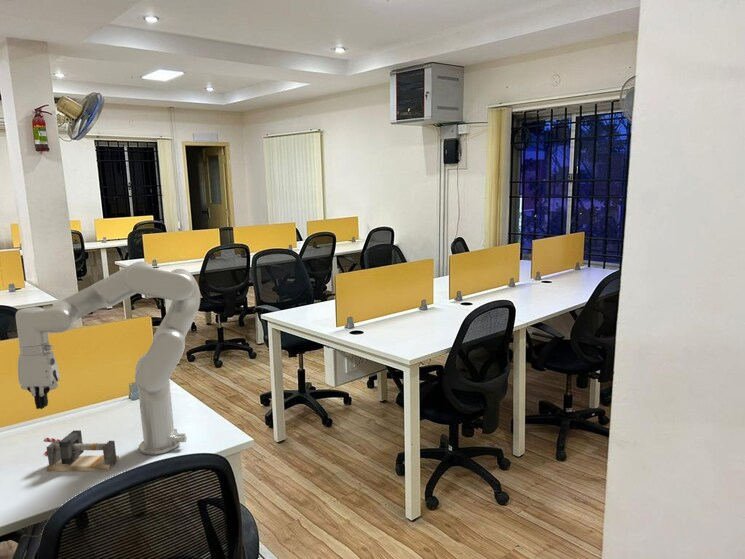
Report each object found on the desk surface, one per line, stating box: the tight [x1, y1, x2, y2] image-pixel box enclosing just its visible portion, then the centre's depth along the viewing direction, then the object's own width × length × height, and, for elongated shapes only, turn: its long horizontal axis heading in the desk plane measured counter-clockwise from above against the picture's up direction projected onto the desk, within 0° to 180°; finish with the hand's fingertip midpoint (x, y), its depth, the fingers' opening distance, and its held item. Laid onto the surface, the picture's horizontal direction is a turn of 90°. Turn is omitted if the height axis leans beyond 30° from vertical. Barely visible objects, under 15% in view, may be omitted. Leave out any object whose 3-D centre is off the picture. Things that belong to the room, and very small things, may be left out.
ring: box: [59, 430, 85, 464], centre depth 167 cm, size 2×8×7 cm, turn 178°
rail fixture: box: [45, 440, 120, 472], centre depth 168 cm, size 19×7×7 cm, turn 88°
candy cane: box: [44, 437, 62, 457], centre depth 181 cm, size 8×1×15 cm
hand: (42, 407), depth 165 cm, fingers closed
